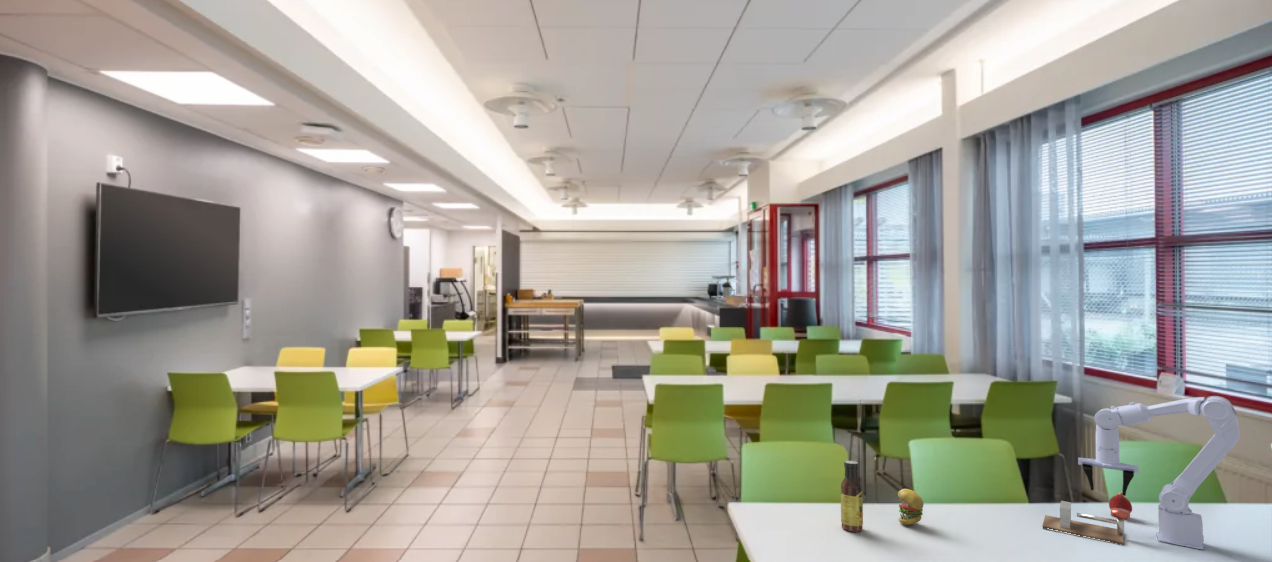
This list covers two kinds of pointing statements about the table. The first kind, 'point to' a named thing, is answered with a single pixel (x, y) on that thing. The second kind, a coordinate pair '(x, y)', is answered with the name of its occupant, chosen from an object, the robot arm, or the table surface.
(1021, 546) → the table surface
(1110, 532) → the board
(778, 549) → the table surface
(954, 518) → the table surface
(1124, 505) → the onion
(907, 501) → the hamburger
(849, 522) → the sauce bottle
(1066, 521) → the grey rectangular block
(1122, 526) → the red knob lever
